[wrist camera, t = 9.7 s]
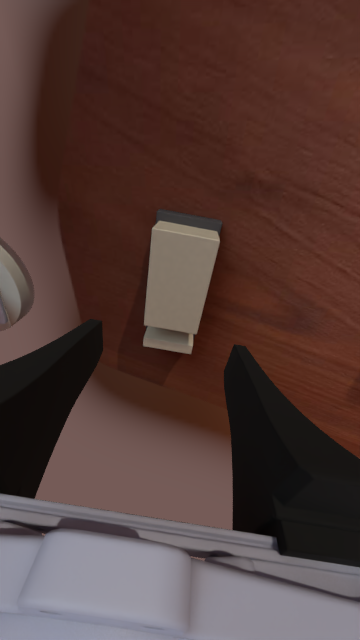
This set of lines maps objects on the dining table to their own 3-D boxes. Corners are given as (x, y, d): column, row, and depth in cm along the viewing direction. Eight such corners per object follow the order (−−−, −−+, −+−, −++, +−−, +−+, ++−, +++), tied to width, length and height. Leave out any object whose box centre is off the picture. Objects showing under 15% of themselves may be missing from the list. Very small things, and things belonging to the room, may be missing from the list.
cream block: (193, 333, 23) (192, 360, 20) (148, 325, 23) (139, 351, 20) (221, 220, 17) (226, 231, 14) (159, 208, 17) (149, 216, 14)
